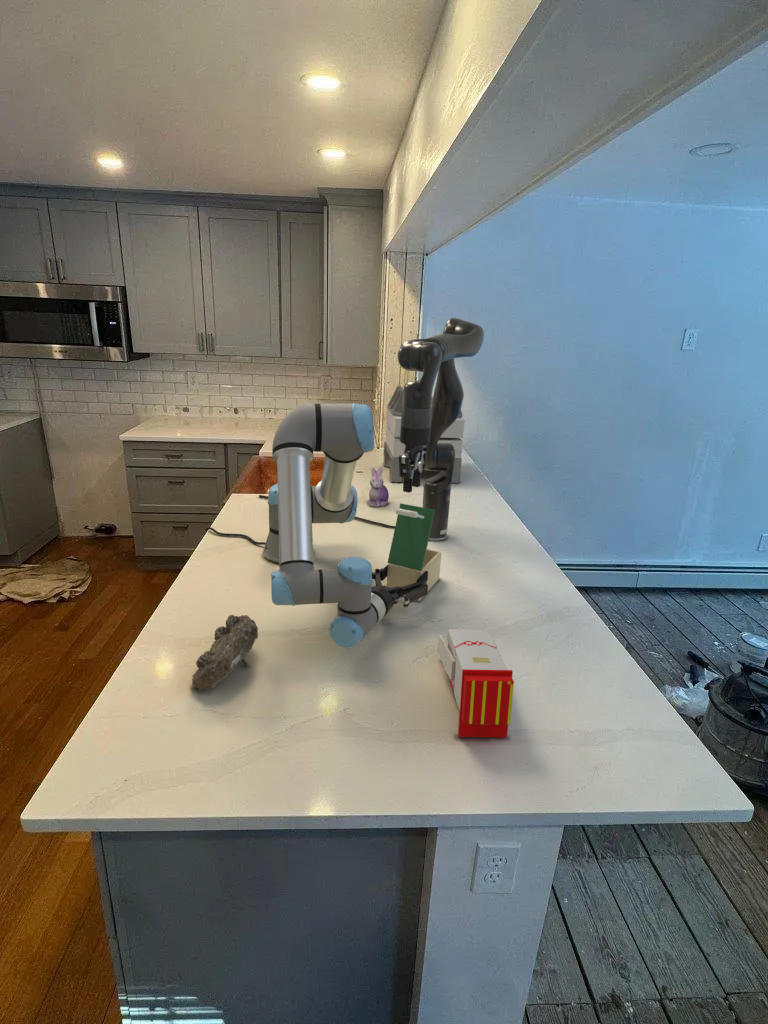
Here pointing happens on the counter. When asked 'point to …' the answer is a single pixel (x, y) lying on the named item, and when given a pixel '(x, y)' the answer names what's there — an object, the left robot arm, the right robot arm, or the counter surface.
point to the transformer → (397, 448)
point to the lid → (411, 536)
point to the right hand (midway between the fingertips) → (411, 488)
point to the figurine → (377, 489)
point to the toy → (478, 682)
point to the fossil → (225, 651)
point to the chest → (415, 572)
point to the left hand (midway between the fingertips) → (408, 571)
